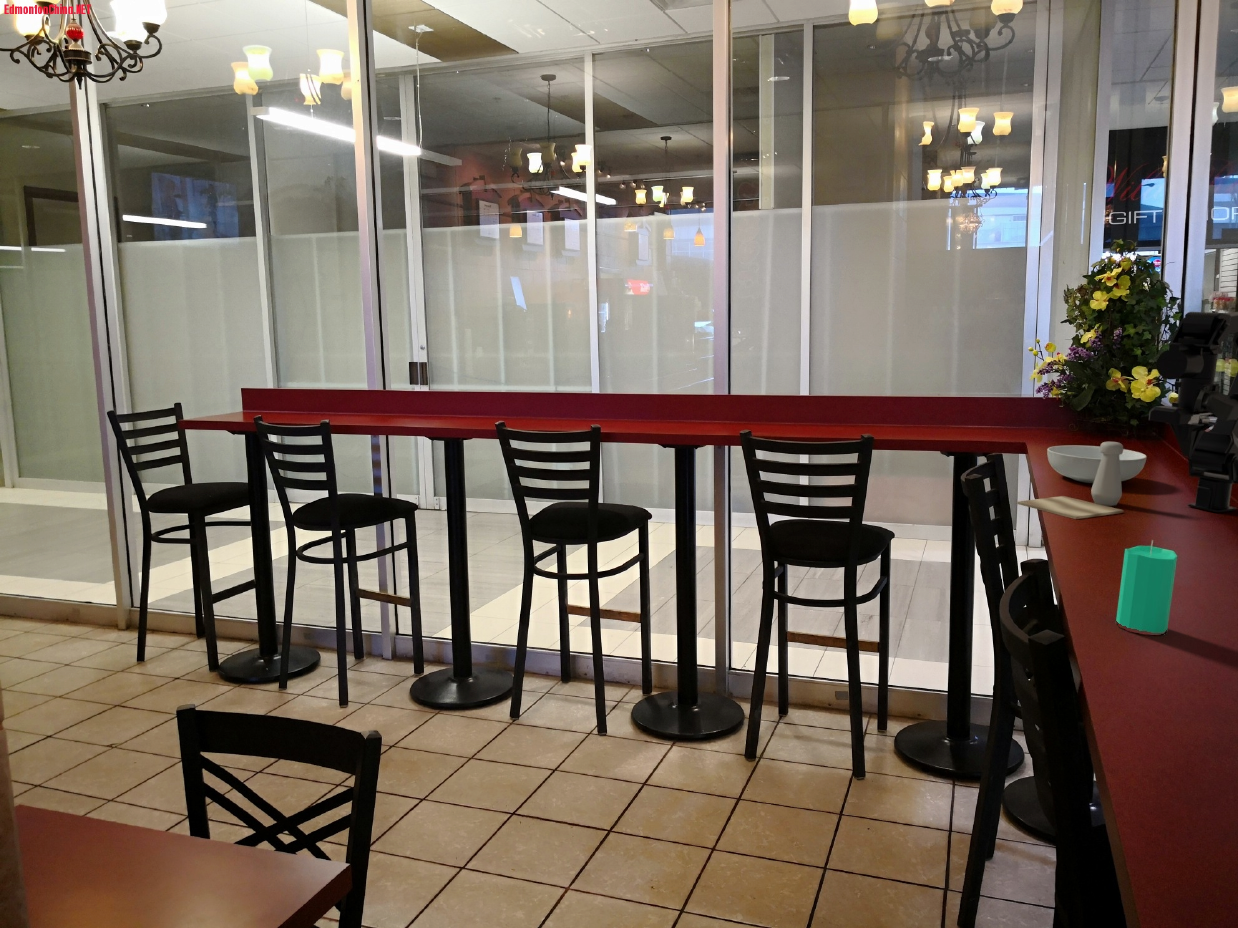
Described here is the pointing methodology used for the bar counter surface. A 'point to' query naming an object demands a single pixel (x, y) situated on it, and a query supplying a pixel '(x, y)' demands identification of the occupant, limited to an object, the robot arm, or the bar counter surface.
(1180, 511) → the bar counter surface
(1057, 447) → the serving bowl
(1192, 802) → the bar counter surface
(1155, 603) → the candle
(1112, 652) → the bar counter surface
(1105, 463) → the salt shaker
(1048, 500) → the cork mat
